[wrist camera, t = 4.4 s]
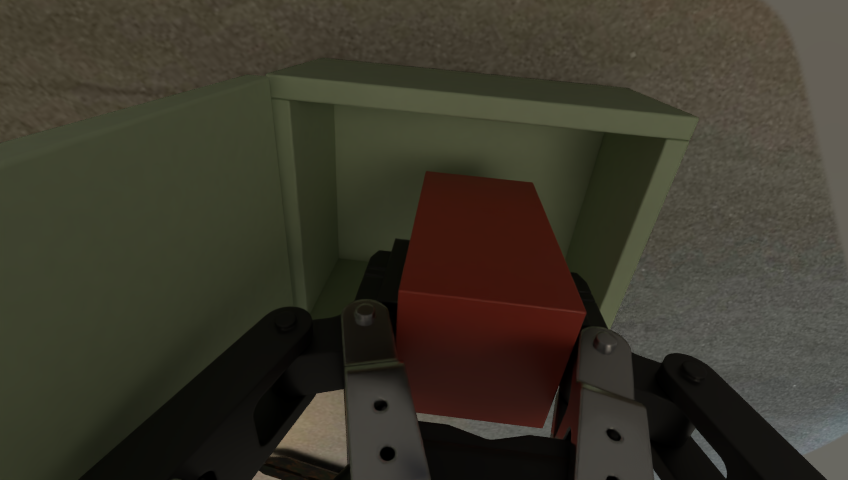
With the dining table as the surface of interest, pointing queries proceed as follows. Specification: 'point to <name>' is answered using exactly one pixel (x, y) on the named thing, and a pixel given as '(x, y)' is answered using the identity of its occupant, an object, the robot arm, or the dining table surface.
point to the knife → (294, 469)
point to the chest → (463, 165)
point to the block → (485, 302)
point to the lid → (131, 266)
